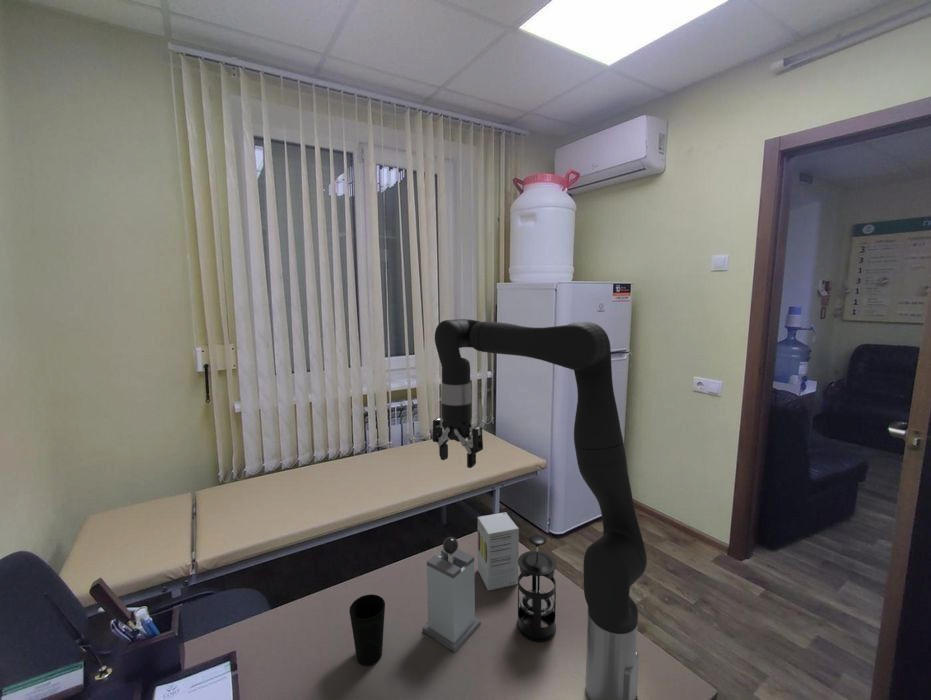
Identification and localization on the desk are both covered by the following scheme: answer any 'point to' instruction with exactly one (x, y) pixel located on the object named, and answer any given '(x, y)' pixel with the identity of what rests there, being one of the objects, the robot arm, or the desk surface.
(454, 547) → the plunger
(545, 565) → the french press
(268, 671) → the desk surface
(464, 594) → the slotted square pillar
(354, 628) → the cup
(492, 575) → the supplement box
